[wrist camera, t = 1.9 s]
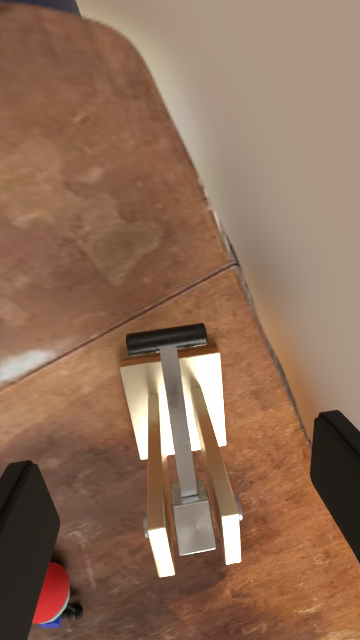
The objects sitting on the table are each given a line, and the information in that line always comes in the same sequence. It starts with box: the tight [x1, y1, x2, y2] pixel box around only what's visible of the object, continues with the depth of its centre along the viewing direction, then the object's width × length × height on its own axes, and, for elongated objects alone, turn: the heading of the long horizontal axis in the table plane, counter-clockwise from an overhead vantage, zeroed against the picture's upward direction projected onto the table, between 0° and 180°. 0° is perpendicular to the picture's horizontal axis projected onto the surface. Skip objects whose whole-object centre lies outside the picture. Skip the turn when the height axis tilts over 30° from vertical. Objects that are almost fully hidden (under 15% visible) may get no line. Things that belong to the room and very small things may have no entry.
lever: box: [126, 323, 216, 556], centre depth 17 cm, size 13×5×2 cm, turn 6°
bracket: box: [119, 347, 243, 577], centre depth 21 cm, size 11×9×13 cm
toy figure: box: [32, 562, 83, 628], centre depth 34 cm, size 8×5×15 cm
